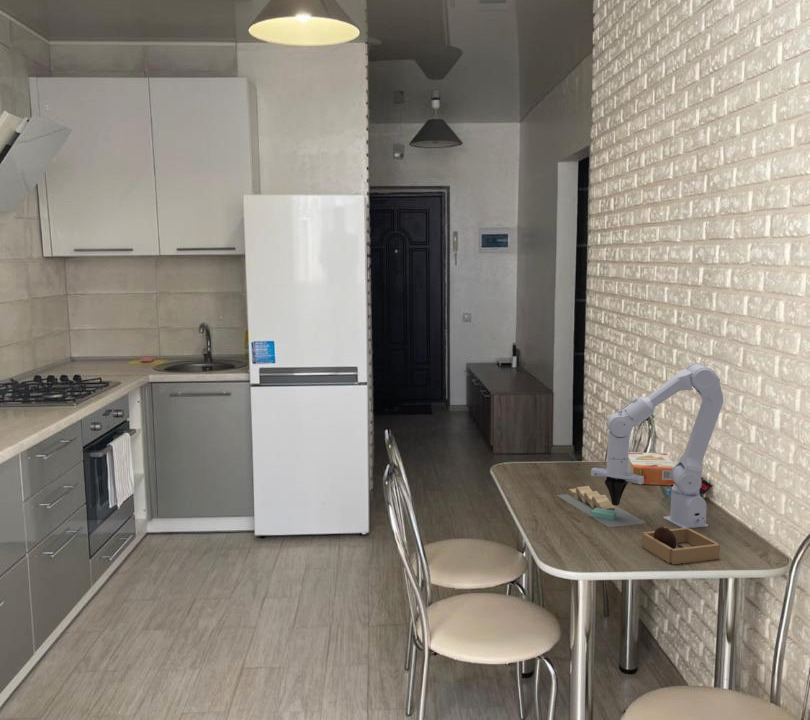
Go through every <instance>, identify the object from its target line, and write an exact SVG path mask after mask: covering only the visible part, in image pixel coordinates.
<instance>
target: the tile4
mask: <svg viewBox="0 0 810 720" xmlns="http://www.w3.org/2000/svg"><path fill="white" fill-rule="evenodd" d="M592 491H593V490H592V489H591V488H590V486H589V485H584V486H577V487H576V493H577V494H578V495H579V497H580V498H581V499H582V501H583V502H584V503H585V504H589V503H588V501H587V500H586V499H585V498H584V493H585V492H592Z"/></svg>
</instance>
